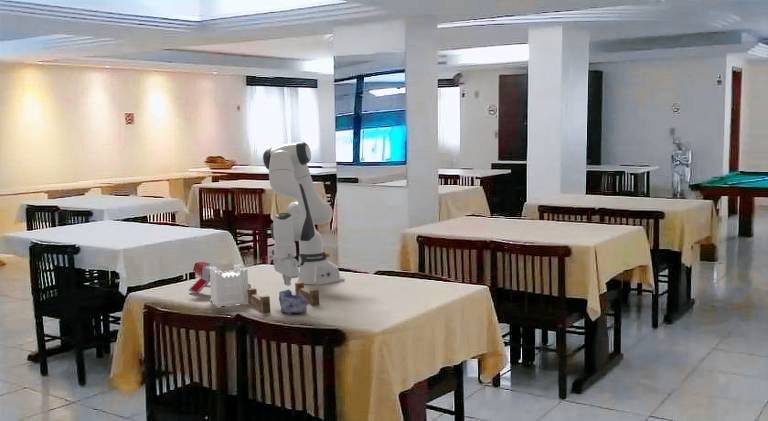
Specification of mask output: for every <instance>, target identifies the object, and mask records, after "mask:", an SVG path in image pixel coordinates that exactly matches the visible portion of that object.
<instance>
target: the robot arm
mask: <svg viewBox="0 0 768 421" xmlns="http://www.w3.org/2000/svg"><path fill="white" fill-rule="evenodd" d="M311 159H312V150H311V148H310V147H309V145H308V144H307V143H306V141H305V142H304V141H298V142H291V143H285V144H282V145H279V146H275V147H269V148H267V149H266V150H265V151H264V152H263V154H262V161H263V164H264V167H265V168H266V169H267V170H268V179H269V186H270V188H271V189H272V190H273V191H274V192H275V193H277V194H278V195H281V196H284V197H288V198H291V199H293V200H295V201H292V202H290V203H289V204H288V205H287V207H286V212H281V213H277V214H275V215H274V216H273V222H272V223H271V224H270V225H269V226H270V235H271V238H272V240H274V245H273V247H274V248H273V249H271V255H272V259H273V260H272V261H273V268H274V270H275V272H278V273H279V274H281V275H282V278H283V283H284V285H285V286H287V287H290V286H291V285H292V284H291V281H292V279H296V278H297V283H299V282H303V283H304V285H318V286H320V285H326V284H331V283H336V282H342V281H345V276H342V275H340V270H339V268H338V266H337V265H336V264H334V263H333V262H332V261H330V260H329V259H327V258H330V256H331V254H330V252H325V251H323V236H322V234H321V233H320V232H319V231H318V230H317V228H316V226H315V225H317V226H318V225H325V224H328V223H330V221H331V220H332V218H333V214H334V212H333V208H332V206H331V205H330V204H329V203H328V202H326V201H325V200H324V199H323V197H322V196H321V195H320V194H319V192H318V191H317V189H316V187H315V185H314V181H313V178H312V176H311V172H310V169H309V166H308V163H310V161H311ZM296 242H298V248H299V253H298V260H297V259H296V258H295V257H297V246H296Z"/></svg>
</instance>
